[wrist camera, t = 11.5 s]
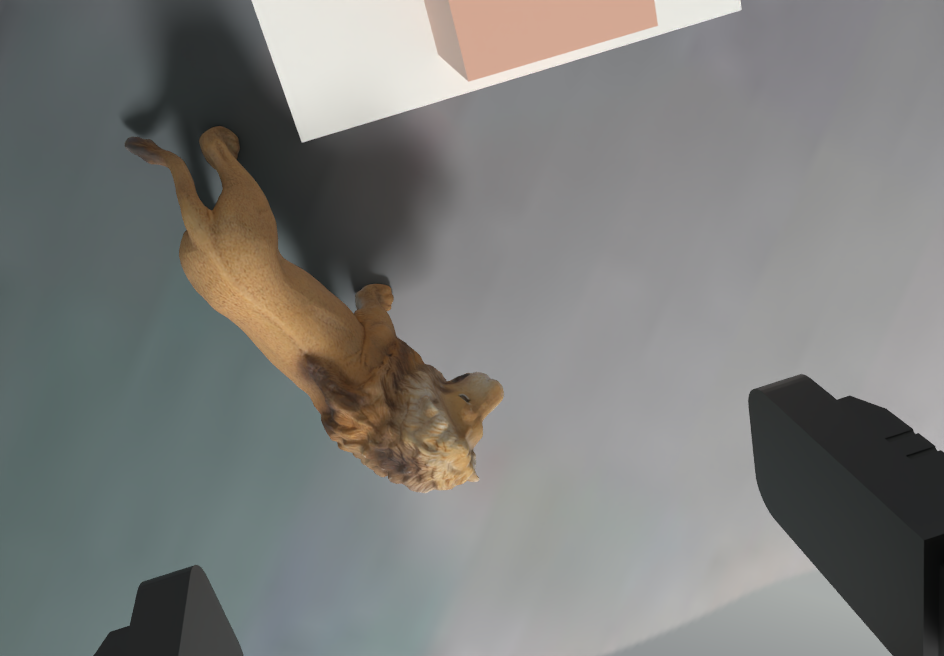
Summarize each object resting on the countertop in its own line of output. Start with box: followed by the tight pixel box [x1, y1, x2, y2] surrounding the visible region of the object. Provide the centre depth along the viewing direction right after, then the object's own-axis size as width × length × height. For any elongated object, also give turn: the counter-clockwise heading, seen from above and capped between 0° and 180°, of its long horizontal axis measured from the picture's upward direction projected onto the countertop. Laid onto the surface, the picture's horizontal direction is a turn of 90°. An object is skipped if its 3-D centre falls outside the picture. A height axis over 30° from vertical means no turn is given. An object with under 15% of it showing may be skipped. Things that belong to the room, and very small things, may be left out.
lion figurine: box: [125, 126, 504, 493], centre depth 28 cm, size 15×5×9 cm, turn 48°
